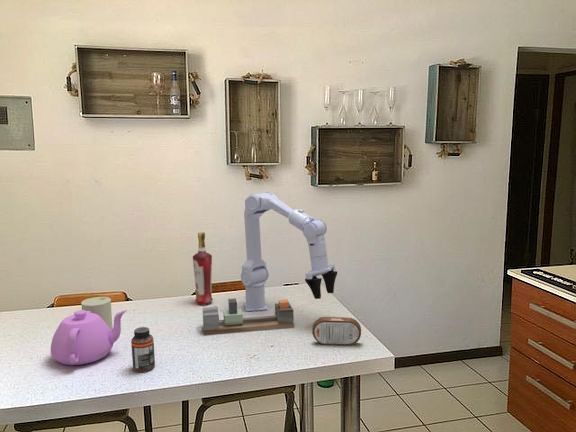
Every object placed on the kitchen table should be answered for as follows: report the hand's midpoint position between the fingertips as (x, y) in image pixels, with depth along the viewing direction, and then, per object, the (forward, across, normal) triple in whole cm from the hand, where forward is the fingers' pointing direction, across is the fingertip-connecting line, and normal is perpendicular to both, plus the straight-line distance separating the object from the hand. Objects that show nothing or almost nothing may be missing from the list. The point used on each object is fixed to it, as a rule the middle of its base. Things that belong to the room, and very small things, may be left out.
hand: (324, 295), depth 165 cm
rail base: (+7, -16, +22) cm, 28 cm away
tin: (+13, -10, -10) cm, 19 cm away
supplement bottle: (+7, -57, +23) cm, 62 cm away
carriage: (+5, -20, +25) cm, 32 cm away
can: (+1, -51, +56) cm, 76 cm away
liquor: (+2, -8, +53) cm, 53 cm away
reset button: (+4, -6, +13) cm, 15 cm away
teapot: (+4, -61, +43) cm, 75 cm away
